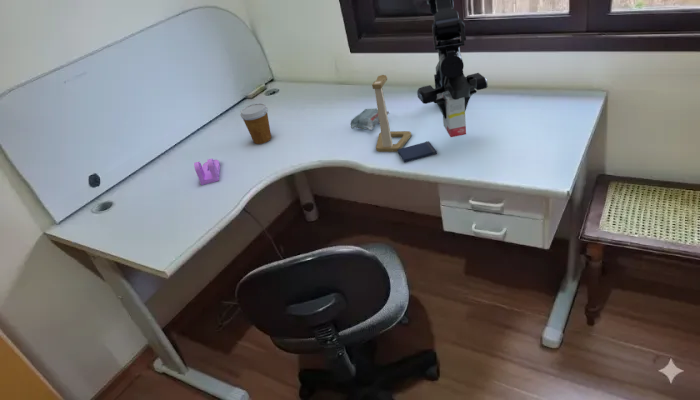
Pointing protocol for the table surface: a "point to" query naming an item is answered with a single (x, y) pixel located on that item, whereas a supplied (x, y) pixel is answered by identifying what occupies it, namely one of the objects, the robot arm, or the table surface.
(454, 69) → the robot arm
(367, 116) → the packaged food
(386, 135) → the headphone stand
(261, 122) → the disposable coffee cup
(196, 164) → the bracket
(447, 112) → the ink box
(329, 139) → the table surface
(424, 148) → the notepad
